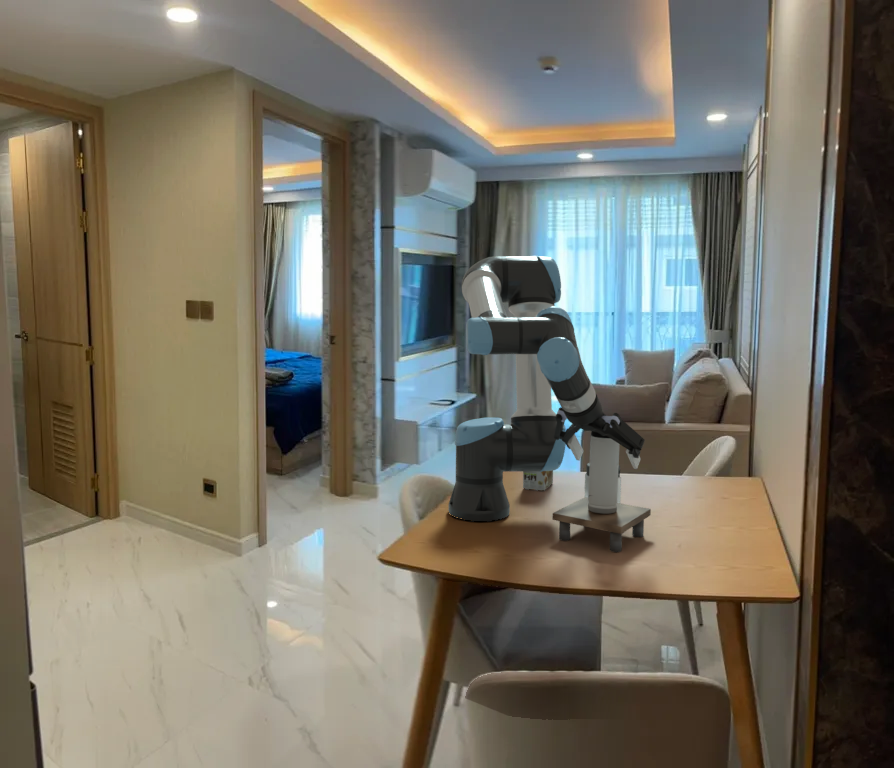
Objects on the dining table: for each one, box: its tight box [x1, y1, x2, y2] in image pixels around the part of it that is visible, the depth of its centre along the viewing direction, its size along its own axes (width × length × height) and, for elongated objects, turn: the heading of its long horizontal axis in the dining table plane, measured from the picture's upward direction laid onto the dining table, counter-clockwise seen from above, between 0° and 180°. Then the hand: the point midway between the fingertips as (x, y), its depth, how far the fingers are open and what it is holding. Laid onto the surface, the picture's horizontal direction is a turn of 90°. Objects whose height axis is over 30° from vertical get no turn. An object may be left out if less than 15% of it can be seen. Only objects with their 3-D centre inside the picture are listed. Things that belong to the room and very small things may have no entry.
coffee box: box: [522, 470, 554, 491], centre depth 202 cm, size 9×6×16 cm
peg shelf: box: [552, 496, 652, 553], centre depth 160 cm, size 16×16×6 cm
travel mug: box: [588, 424, 620, 514], centre depth 158 cm, size 6×7×20 cm
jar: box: [584, 462, 622, 503], centre depth 178 cm, size 9×8×12 cm
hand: (607, 459), depth 160 cm, fingers open, 13 cm apart
